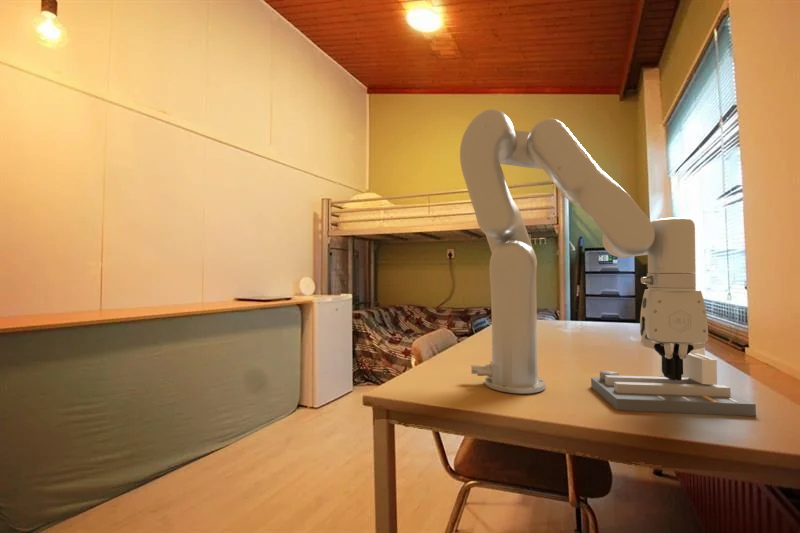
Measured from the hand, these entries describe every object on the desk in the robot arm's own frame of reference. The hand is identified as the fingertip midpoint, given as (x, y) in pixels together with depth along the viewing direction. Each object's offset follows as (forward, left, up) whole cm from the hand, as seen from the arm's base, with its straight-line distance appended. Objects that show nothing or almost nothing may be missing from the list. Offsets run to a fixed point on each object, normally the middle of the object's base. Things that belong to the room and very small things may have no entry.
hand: (672, 378), depth 75 cm
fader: (+5, 0, -2) cm, 5 cm away
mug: (+9, +14, -4) cm, 17 cm away
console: (-2, 0, -4) cm, 4 cm away
